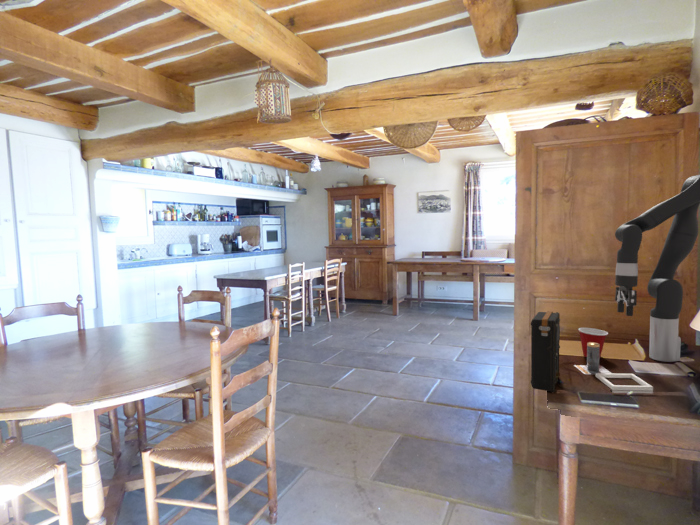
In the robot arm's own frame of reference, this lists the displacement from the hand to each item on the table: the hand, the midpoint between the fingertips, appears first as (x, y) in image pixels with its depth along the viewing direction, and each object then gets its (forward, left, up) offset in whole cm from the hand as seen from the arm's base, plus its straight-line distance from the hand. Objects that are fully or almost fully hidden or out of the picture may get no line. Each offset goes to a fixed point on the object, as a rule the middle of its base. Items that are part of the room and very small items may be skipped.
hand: (624, 314), depth 169 cm
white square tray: (+15, +29, -19) cm, 38 cm away
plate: (+19, +16, -19) cm, 31 cm away
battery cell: (+19, +16, -18) cm, 30 cm away
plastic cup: (+12, -1, -19) cm, 22 cm away
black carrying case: (+40, +29, -19) cm, 53 cm away
